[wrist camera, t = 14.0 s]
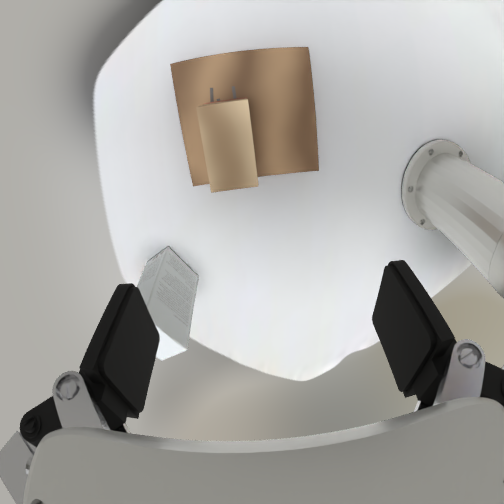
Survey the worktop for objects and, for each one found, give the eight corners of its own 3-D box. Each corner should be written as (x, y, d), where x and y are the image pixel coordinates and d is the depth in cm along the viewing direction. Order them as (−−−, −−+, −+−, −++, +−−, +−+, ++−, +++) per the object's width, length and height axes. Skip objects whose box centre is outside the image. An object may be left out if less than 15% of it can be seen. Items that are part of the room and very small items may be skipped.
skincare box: (146, 261, 34) (118, 331, 24) (168, 244, 33) (143, 315, 23) (177, 291, 37) (161, 362, 27) (200, 276, 36) (189, 350, 26)
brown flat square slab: (304, 49, 21) (308, 47, 20) (315, 166, 28) (318, 170, 27) (173, 65, 22) (170, 64, 20) (195, 181, 29) (193, 186, 27)
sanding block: (246, 97, 23) (249, 98, 18) (255, 167, 27) (259, 187, 22) (204, 103, 23) (194, 106, 18) (215, 172, 27) (210, 193, 22)
